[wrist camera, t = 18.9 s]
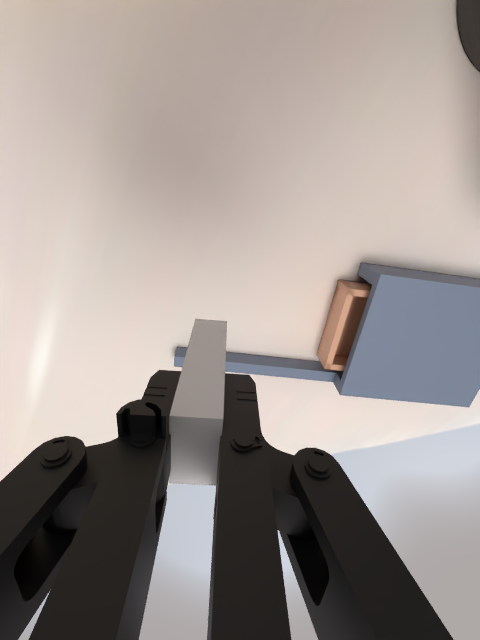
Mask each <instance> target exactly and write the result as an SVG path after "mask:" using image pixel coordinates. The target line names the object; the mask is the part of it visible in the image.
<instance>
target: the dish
mask: <svg viewBox="0 0 480 640" xmlns="http://www.w3.org/2000/svg"><path fill="white" fill-rule="evenodd" d="M371 288H372V284H367V283H359V282H352V281H344V280H338V284H337V287H336V291H335V294H334V298H333V301H332V305H331V308H330V312H329V315H328V319H327V322H326V326H325V329H324V333H323V336H322V340H321V343H320V347H319V350H318V354H317V356H318V358H319V360H320V362H321V363H322V365H323V367H324V369H330V370H339V371H344V369H345V366H346V363H347V360H348V357H349V354H350V351H351V348H352V345H353V342H354V339H355V336H356V333H357V330H358V327H359V324H360V321H361V318H362V315H363V312H364V309H365V306H366V303H367V300H368V297H369V294H370V291H371Z"/></svg>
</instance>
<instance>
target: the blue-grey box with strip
mask: <svg viewBox="0 0 480 640" xmlns="http://www.w3.org/2000/svg"><path fill="white" fill-rule="evenodd" d="M358 275H359V276H360V277H362V278H363V279H365V280H366V281H368V282H369V283H371V284H372V288H371V291H370V294H369V297H368V300H367V303H366V306H365V309H364V312H363V315H362V318H361V321H360V324H359V327H358V330H357V333H356V336H355V339H354V342H353V345H352V348H351V351H350V354H349V357H348V360H347V363H346V366H345V369H344V371H339V370H330V369H324V367H323V365H322V363H321V362H317V361H308V360H298V359H289V358H279V357H269V356H260V355H250V354H241V353H231V352H226V359H225V371H226V372H236V373H246V374H256V375H267V376H277V377H287V378H297V379H307V380H317V381H328V382H333V383H334V385H335V387H336V388H337V390H338V392H339V394H340V395H345V396H355V397H366V398H377V399H387V400H398V401H408V402H419V403H430V404H440V405H451V406H461V407H470V405H471V403H472V401H473V399H474V398H475V396H476V394H477V392H478V391H479V389H480V279H476V278H468V277H461V276H454V275H447V274H440V273H432V272H425V271H418V270H411V269H403V268H396V267H389V266H382V265H374V264H367V263H361V264H360V268H359V271H358ZM186 352H187V348H183V347H177V350H176V354H175V358H174V366H175V367H183V363H184V360H185V356H186Z"/></svg>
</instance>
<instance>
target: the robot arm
mask: <svg viewBox="0 0 480 640" xmlns="http://www.w3.org/2000/svg"><path fill="white" fill-rule="evenodd" d="M458 25H459V31H460V36H461V40H462V43H463V46H464V48H465V51H466V53H467V55H468V57H469V58H470V60H471V61H472V63H473V64H474V65H475V67H476V68H477V69H478V70H479V71H480V0H458ZM226 332H227V321H217V320H203V319H195V322H194V326H193V330H192V333H191V337H190V341H189V345H188V348H187V352H186V356H185V360H184V363H183V367H182V371H167V370H159V371H158V372H156V373H155V374H154V375H153V376H152V377H151V378H150V380H149V383H148V385H147V388H146V390H145V392H144V396H143V397H142V399H141V400H136V401H132V402H129V403H128V404H126V405H124V406H123V407H121V408H120V410H119V411H118V412H117V413H116V415H117V426H118V438H116V439H114V440H112V441H110V442H106V443H103V444H98V445H93V446H88V447H85V445H84V443H83V442H82V440H80V439H78V438H76V437H70V436H64V437H58V438H54V439H52V440H49V441H47V442H45V443H43V444H41V445H40V446H39V447H37V448H36V449H35V450H33V451H32V452H31V453H30V454H29V455H28V456H27V457H26V458H25V459H24V460H23V461H22V462H21V463H20V464H19V465H17V466H16V467H15V468H14V469H13V470H12V471H11V472H10V473H9V474H8V475H7V476H6V477H5V478H4V479H3V480H1V481H0V640H18V639H19V637H20V635H21V634H22V632H23V631H24V629H25V628H26V626H27V625H28V623H29V622H30V620H31V619H32V617H33V615H34V614H35V613H36V611H37V609H38V608H39V606H40V605H41V603H42V602H43V600H44V599H45V597H46V596H47V594H48V593H49V591H50V593H49V595H48V597H47V599H46V602H45V604H44V606H43V608H42V611H41V613H40V615H39V618H38V620H37V623H36V624H35V626H34V629H33V631H32V633H31V636H30V638H29V640H139V635H140V630H141V625H142V620H143V614H144V610H145V605H146V600H147V595H148V590H149V585H150V580H151V575H152V570H153V565H154V560H155V555H156V551H157V546H158V541H159V535H160V531H161V526H162V521H163V516H164V511H165V506H166V500H167V495H166V494H167V492H166V490H167V485H168V480H169V483H171V484H197V485H216V497H215V508H214V518H213V519H214V527H213V545H212V563H211V581H210V598H209V616H208V634H207V640H291V634H290V626H289V618H288V610H287V603H286V595H285V587H284V579H283V571H282V564H281V555H280V547H279V540H278V532H277V530H279V531H280V534H281V537H282V540H283V543H284V546H285V548H286V551H287V554H288V557H289V559H290V562H291V565H292V568H293V571H294V573H295V576H296V579H297V582H298V584H299V587H300V590H301V593H302V596H303V598H304V601H305V604H306V607H307V609H308V612H309V615H310V617H311V621H312V623H313V626H314V628H315V632H316V634H317V637H318V640H453V638H452V637H451V635H450V634H449V632H448V631H447V629H446V628H445V626H444V624H443V623H442V622H441V620H440V618H439V617H438V615H437V614H436V612H435V611H434V609H433V607H432V606H431V604H430V603H429V601H428V600H427V598H426V597H425V595H424V594H423V592H422V591H421V589H420V588H419V586H418V585H417V583H416V581H415V580H414V578H413V577H412V575H411V574H410V572H409V571H408V570H407V568H406V566H405V564H404V563H403V561H402V560H401V558H400V557H399V555H398V554H397V552H396V551H395V549H394V548H393V546H392V544H391V543H390V542H389V540H388V538H387V537H386V535H385V534H384V532H383V531H382V529H381V527H380V526H379V525H378V523H377V521H376V520H375V518H374V517H373V515H372V514H371V512H370V511H369V509H368V507H367V506H366V504H365V503H364V501H363V500H362V498H361V497H360V495H359V494H358V492H357V491H356V489H355V488H354V486H353V485H352V483H351V482H350V480H349V478H348V477H347V475H346V474H345V472H344V471H343V469H342V468H341V466H340V464H339V463H338V462H337V461H336V460H335V459H334V457H333V456H331V455H330V454H328V453H327V452H325V451H323V450H320V449H317V448H304V449H302V450H299V451H298V452H297V453H296V454H295V455H291V454H288V453H285V452H282V451H280V450H277V449H275V448H274V447H272V446H271V445H269V444H268V443H267V442H266V440H265V439H264V437H263V436H262V433H261V427H260V419H259V410H258V402H257V394H256V384H255V382H254V381H253V379H252V378H251V377H250V375H241V374H226V373H225V359H226Z"/></svg>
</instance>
